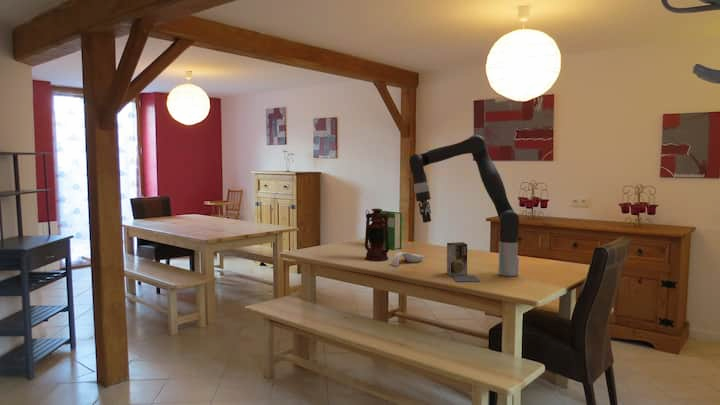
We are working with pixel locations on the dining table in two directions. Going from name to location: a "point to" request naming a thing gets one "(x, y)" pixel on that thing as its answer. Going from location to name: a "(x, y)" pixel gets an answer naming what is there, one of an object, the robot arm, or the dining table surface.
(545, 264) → the dining table surface
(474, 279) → the mat
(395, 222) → the hardback book
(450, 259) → the coffee box
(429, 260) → the dining table surface
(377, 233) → the lantern
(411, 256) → the spoon rest
